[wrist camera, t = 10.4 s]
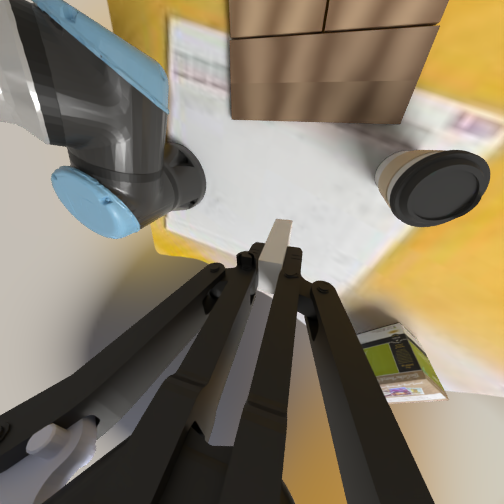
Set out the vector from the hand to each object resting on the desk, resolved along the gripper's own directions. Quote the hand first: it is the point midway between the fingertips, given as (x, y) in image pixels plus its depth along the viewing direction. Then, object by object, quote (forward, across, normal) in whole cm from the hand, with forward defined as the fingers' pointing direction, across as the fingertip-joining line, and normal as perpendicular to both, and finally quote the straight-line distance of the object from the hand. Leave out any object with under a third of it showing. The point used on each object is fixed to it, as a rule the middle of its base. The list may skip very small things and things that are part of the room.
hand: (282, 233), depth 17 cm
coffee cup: (+26, +17, +2) cm, 31 cm away
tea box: (+26, +31, -45) cm, 60 cm away
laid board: (+25, 0, +14) cm, 29 cm away
